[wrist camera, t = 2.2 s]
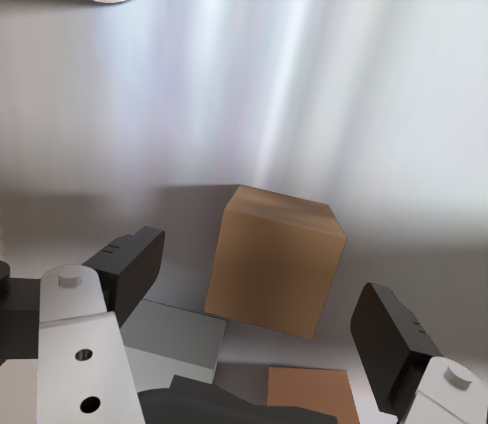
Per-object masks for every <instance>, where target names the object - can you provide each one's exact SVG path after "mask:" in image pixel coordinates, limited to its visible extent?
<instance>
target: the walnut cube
mask: <svg viewBox="0 0 488 424" xmlns="http://www.w3.org/2000/svg"><path fill="white" fill-rule="evenodd" d="M346 240H347V238H346V236H345V234H344V232H343V230H342V229H341V227H340V225H339V223H338V221H337V220H336V218H335V216H334V214H333V213H332V211H331V209H330V207H329V205H326V204H321V203H317V202H313V201H309V200H304V199H300V198H296V197H292V196H287V195H283V194H279V193H275V192H270V191H266V190H262V189H257V188H253V187H249V186H245V185H239V187H238V189H237V190H236V192H235V193H234V195H233V196H232V198H231V199H230V201H229V202H228V204H227V205H226V207H225V208H224V212H223V217H222V222H221V227H220V232H219V237H218V242H217V247H216V252H215V257H214V262H213V267H212V272H211V277H210V282H209V287H208V292H207V297H206V302H205V307H204V312H207V313H211V314H215V315H219V316H223V317H226V318H230V319H234V320H238V321H242V322H246V323H250V324H253V325H257V326H261V327H265V328H269V329H273V330H276V331H280V332H284V333H288V334H292V335H296V336H300V337H303V338H307V339H311V340H312V338H313V335H314V332H315V329H316V326H317V323H318V321H319V318H320V315H321V312H322V309H323V306H324V303H325V300H326V298H327V295H328V292H329V289H330V286H331V283H332V280H333V277H334V274H335V272H336V269H337V266H338V263H339V260H340V257H341V254H342V251H343V249H344V246H345V243H346Z"/></svg>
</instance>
